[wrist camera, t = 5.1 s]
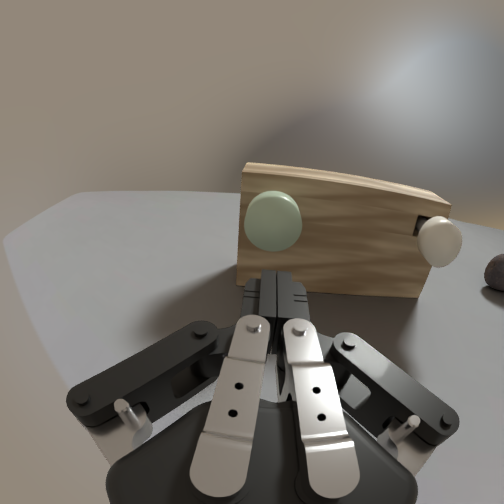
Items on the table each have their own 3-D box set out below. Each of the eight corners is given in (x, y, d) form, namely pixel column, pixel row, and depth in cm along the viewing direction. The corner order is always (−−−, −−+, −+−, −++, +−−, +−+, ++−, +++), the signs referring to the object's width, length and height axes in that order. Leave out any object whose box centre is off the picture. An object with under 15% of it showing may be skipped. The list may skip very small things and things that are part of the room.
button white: (452, 269, 21) (467, 228, 19) (419, 265, 21) (434, 221, 19) (428, 242, 26) (439, 206, 24) (397, 238, 26) (407, 199, 24)
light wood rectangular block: (418, 297, 28) (451, 205, 23) (236, 285, 29) (242, 171, 23) (404, 275, 33) (430, 191, 27) (241, 261, 33) (247, 162, 28)
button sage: (297, 254, 22) (305, 201, 20) (242, 248, 22) (245, 195, 20) (293, 226, 27) (299, 182, 25) (248, 221, 27) (251, 178, 25)
